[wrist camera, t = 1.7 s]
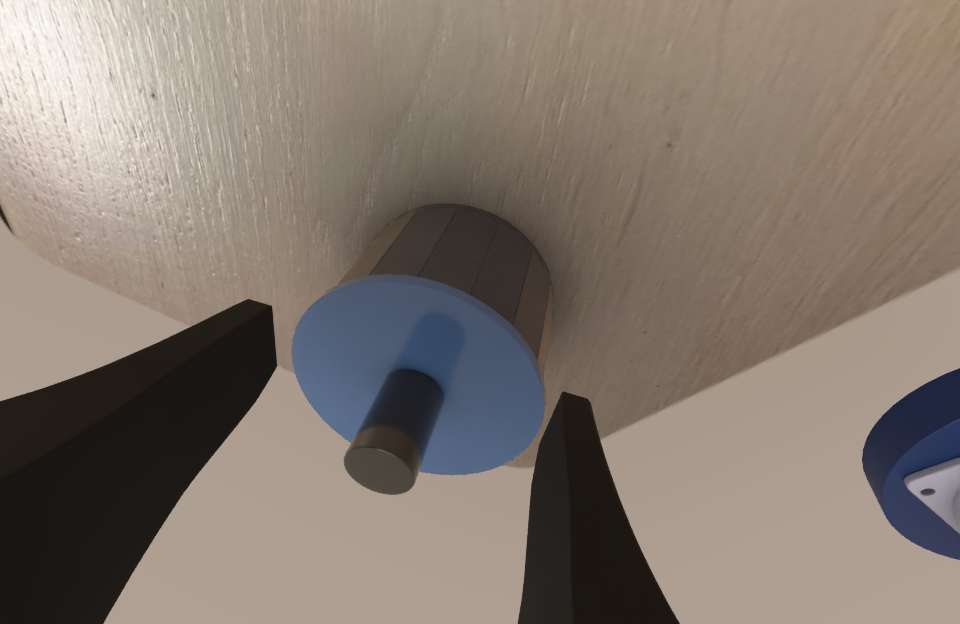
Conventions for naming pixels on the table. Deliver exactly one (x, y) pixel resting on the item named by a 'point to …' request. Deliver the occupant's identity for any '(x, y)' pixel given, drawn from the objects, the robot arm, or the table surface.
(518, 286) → the pot
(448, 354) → the lid
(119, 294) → the table surface
